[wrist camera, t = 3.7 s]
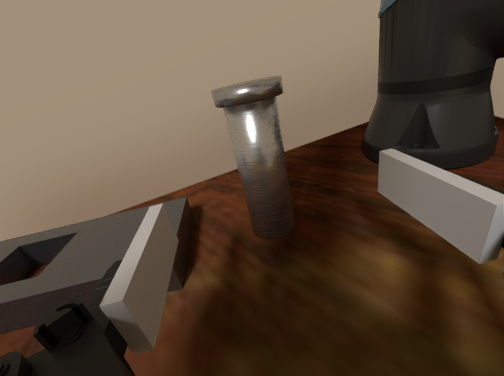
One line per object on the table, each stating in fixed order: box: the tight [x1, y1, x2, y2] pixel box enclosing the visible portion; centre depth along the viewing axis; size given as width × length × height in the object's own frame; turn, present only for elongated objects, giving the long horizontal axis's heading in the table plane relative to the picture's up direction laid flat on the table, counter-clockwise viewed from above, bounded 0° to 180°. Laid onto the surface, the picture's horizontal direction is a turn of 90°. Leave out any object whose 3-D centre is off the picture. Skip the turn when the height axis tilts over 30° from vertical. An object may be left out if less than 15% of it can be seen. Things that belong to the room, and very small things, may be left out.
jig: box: [0, 197, 194, 334], centre depth 24 cm, size 22×11×3 cm, turn 98°
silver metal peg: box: [211, 76, 294, 239], centre depth 22 cm, size 6×6×14 cm
